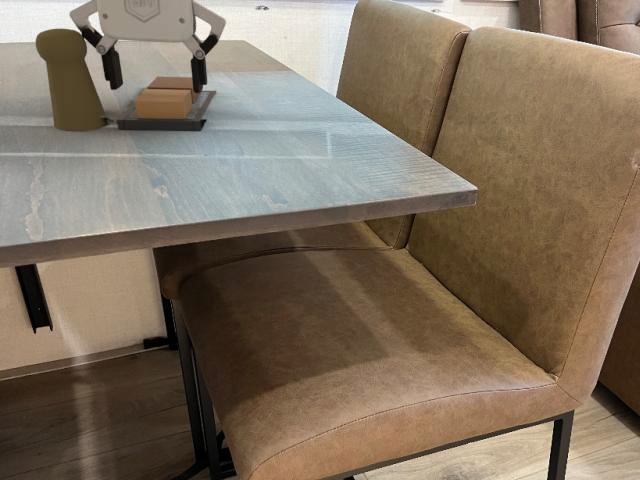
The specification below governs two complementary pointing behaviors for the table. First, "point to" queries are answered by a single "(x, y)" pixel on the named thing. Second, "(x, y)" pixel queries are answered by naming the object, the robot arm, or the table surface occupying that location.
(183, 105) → the loose pad
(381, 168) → the table surface
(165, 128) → the frame
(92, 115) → the olive pawn
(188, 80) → the pad
